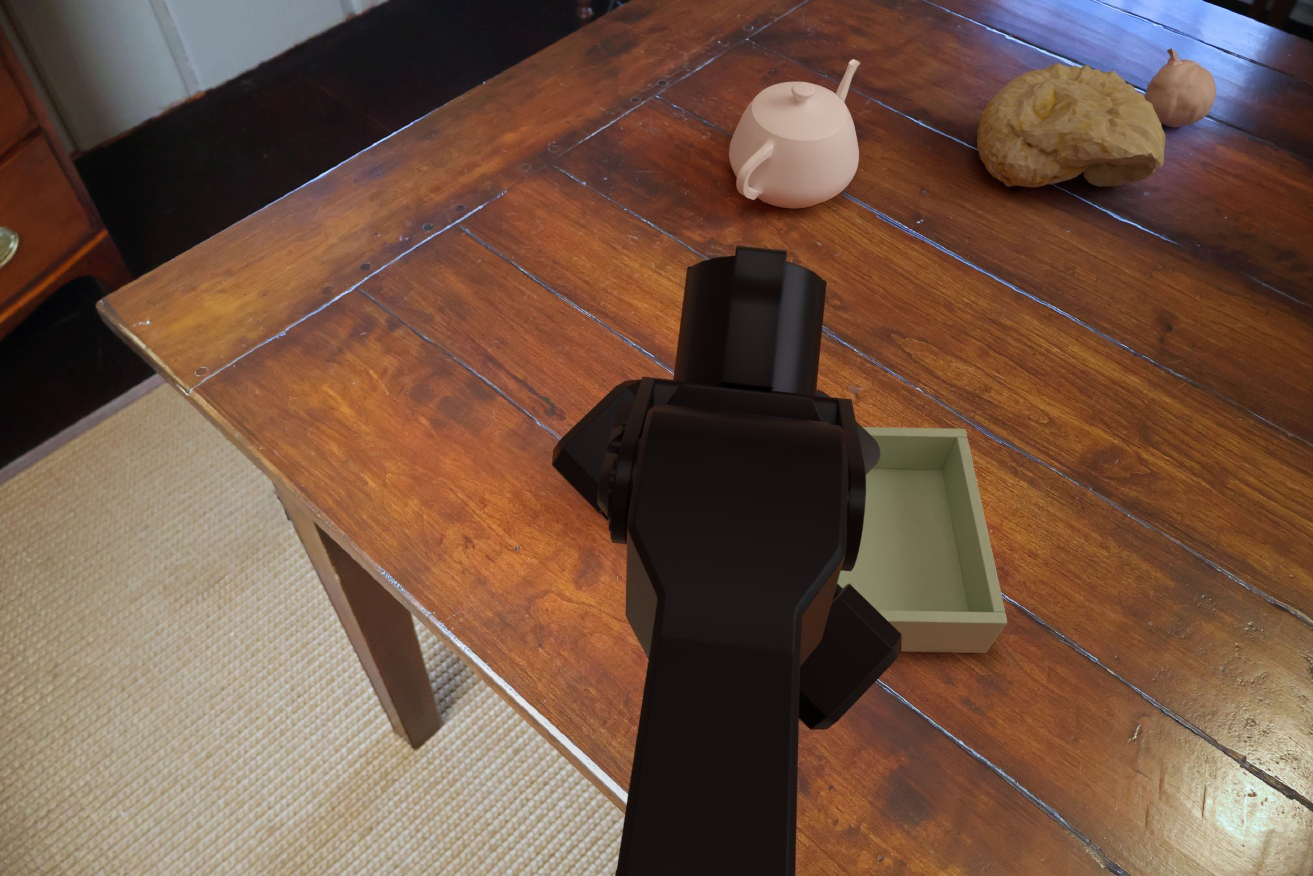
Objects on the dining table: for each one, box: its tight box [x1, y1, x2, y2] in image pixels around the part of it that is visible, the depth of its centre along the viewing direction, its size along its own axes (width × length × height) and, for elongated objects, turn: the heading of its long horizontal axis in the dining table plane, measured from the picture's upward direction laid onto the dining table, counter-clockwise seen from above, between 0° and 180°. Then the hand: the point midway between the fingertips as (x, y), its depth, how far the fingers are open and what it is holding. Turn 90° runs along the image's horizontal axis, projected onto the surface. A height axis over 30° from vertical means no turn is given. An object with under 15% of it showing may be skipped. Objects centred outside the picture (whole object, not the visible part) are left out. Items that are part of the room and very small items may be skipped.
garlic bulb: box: [1143, 47, 1217, 128], centre depth 98 cm, size 7×6×8 cm
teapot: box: [728, 58, 861, 209], centre depth 91 cm, size 20×12×10 cm, turn 142°
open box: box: [837, 426, 1008, 654], centre depth 68 cm, size 16×14×5 cm
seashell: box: [976, 62, 1166, 188], centre depth 92 cm, size 17×11×15 cm
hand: (717, 561), depth 55 cm, fingers open, 9 cm apart
